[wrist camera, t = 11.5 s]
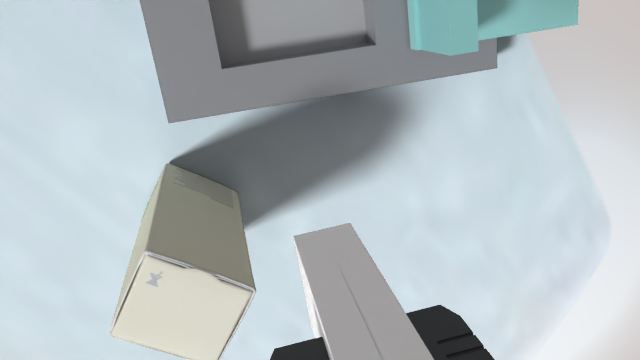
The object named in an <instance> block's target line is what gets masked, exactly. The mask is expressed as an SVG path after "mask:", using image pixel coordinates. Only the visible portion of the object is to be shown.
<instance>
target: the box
mask: <svg viewBox="0 0 640 360" xmlns="http://www.w3.org/2000/svg"><path fill="white" fill-rule="evenodd" d="M255 293H256V288H255V284H254V279H253V275H252V269H251V264H250V259H249V254H248V248H247V243H246V237H245V232H244V226H243V220H242V215H241V209H240V204H239V198H238V193H237V192H236V191H234V190H232V189H230V188H228V187H226V186H223V185H221V184H219V183H216V182H214V181H212V180H209V179H207V178H204V177H202V176H200V175H197V174H195V173H192V172H190V171H187V170H184V169H182V168H179V167H177V166H174V165H171V164H166V165H165V167H164V169H163V171H162V173H161V175H160V177H159V180H158V182H157V184H156V186H155V188H154V191H153V193H152V195H151V198H150V200H149V202H148V205H147V207H146V210H145V212H144V215H143V218H142V221H141V225H140V228H139V232H138V235H137V239H136V242H135V245H134V249H133V252H132V256H131V259H130V262H129V266H128V269H127V272H126V276H125V279H124V283H123V286H122V290H121V293H120V296H119V300H118V304H117V307H116V311H115V314H114V318H113V322H112V325H111V329H110V335H111V336H113V337H115V338H118V339H121V340H124V341H127V342H131V343H133V344H136V345H140V346H143V347H147V348H150V349H153V350H157V351H160V352H164V353H167V354H170V355H174V356H178V357H182V358H185V359H188V360H220V359H221V357H222V355H223V353H224V351H225V350H226V348H227V346H228V344H229V343H230V341H231V339H232V337H233V335H234V334H235V332H236V330H237V328H238V327H239V325H240V323H241V321H242V319H243V317H244V315H245V313H246V311H247V309H248V307H249V305H250V303H251V301H252V299H253V297H254V295H255Z"/></svg>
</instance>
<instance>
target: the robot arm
mask: <svg viewBox="0 0 640 360" xmlns="http://www.w3.org/2000/svg"><path fill="white" fill-rule="evenodd" d="M293 237H294V242H295V247H296V252H297V256H298V261H299V266H300V271H301V276H302V281H303V286H304V291H305V296H306V301H307V306H308V311H309V316H310V321H311V326H312V329H313V333H314V336H315V339H311V340H307V341H303V342H299V343H295V344H292V345H288V346H284V347H280V348H276V349H274V351H273V354H272V356H271V359H270V360H494V358H493V357H492V356H491V355H490V353H489V352H488V351H487V350H486V349H484V347H483V344H482V343H481V342H480V341H479V339H478V338H477V337H476V336H475V335H473V332H472V330H471V329H470V328H469V327H468V325H467V324H466V323H465V322H464V320H463V319H462V318H461V317H460V316H459V315H457V314H456V313H454V312H452V311H450V310H449V309H447V308H445V307H443V306H441V305H437V306H433V307H429V308H425V309H421V310H417V311H413V312H410V313H405V311H404V310H403V308H402V307H401V305H400V303H399V302H398V300H397V298H396V297H395V295H394V294H393V292H392V290H391V289H390V287H389V285H388V284H387V282H386V281H385V279H384V277H383V276H382V274H381V272H380V271H379V269H378V268H377V266H376V264H375V263H374V261H373V259H372V258H371V256H370V255H369V253H368V251H367V250H366V248H365V246H364V245H363V243H362V241H361V240H360V238H359V237H358V235H357V233H356V232H355V230H354V228H353V227H352V225H351V224H350V223H348V224H344V225H339V226H335V227H331V228H326V229H322V230H318V231H313V232H309V233H305V234H300V235H296V236H293Z"/></svg>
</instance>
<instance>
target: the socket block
mask: <svg viewBox="0 0 640 360" xmlns="http://www.w3.org/2000/svg"><path fill="white" fill-rule="evenodd" d="M140 4H141V8H142V12H143V16H144V21H145V25H146V29H147V33H148V38H149V42H150V46H151V50H152V55H153V59H154V63H155V67H156V71H157V76H158V80H159V84H160V88H161V93H162V97H163V101H164V105H165V110H166V114H167V118H168V122H169V123H173V122H179V121H185V120H191V119H197V118H203V117H209V116H215V115H221V114H227V113H233V112H239V111H245V110H251V109H257V108H263V107H268V106H274V105H280V104H286V103H292V102H298V101H304V100H310V99H316V98H322V97H328V96H334V95H340V94H346V93H352V92H358V91H364V90H370V89H376V88H382V87H388V86H394V85H399V84H405V83H411V82H417V81H423V80H429V79H435V78H441V77H447V76H453V75H459V74H465V73H471V72H477V71H483V70H489V69H495V68H497V38H491V39H485V40H479V41H478V49H479V51H477V52H470V53H464V54H458V55H452V56H449V55H444V54H439V53H434V52H430V51H425V50H413V49H411V46H410V32H409V19H408V5H407V0H140Z"/></svg>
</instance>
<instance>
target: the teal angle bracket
mask: <svg viewBox="0 0 640 360" xmlns="http://www.w3.org/2000/svg"><path fill="white" fill-rule="evenodd" d="M407 5H408V19H409V32H410V46H411V49H413V50H425V51H430V52H434V53H439V54H444V55H449V56H452V55H458V54H464V53H470V52H477V51H479V49H478V41H479V40H485V39H491V38H497V37H504V36H510V35H516V34H522V33H529V32H535V31H541V30H547V29H554V28H560V27H566V26H572V25H577V24H578V0H407Z"/></svg>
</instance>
